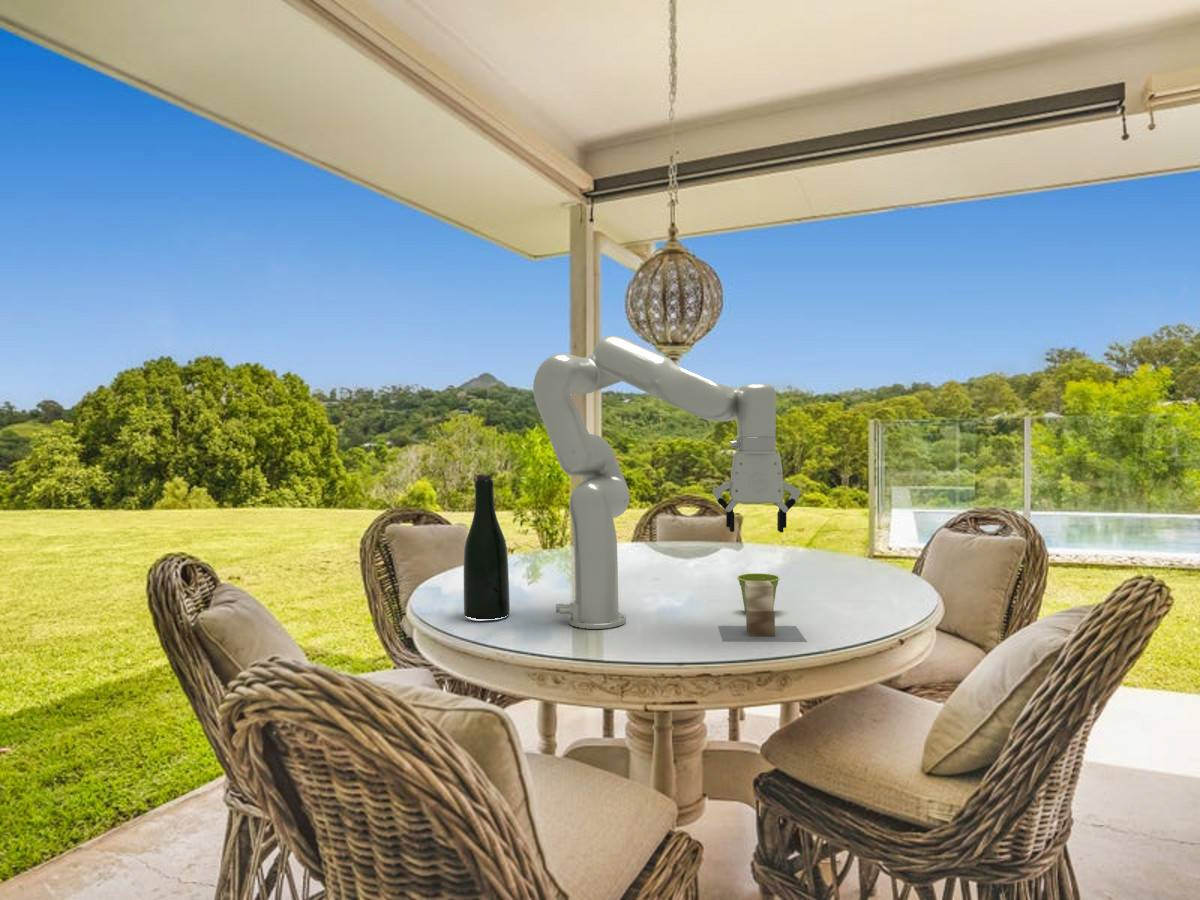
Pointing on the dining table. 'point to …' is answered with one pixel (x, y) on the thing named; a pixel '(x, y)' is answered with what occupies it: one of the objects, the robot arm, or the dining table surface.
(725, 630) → the mat
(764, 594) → the maple block
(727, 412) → the robot arm
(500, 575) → the dark wine bottle
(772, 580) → the plant pot
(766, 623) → the walnut block
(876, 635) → the dining table surface
